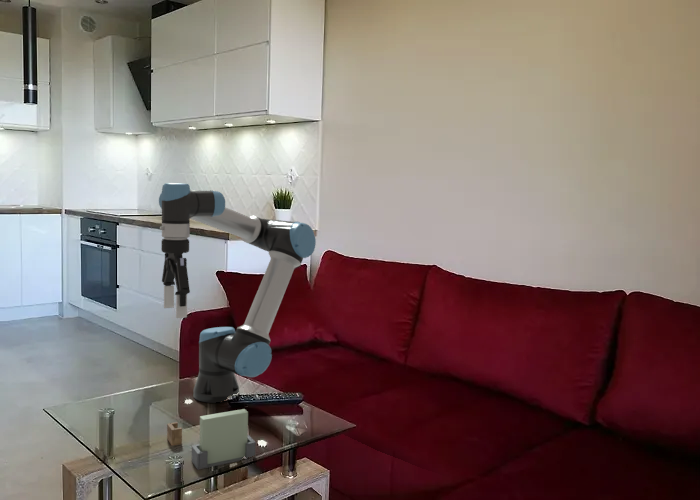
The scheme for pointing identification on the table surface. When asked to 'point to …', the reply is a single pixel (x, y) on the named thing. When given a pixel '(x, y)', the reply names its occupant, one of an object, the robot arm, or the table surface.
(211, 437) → the sheet
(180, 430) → the rack
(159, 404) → the table surface
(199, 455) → the display stand
